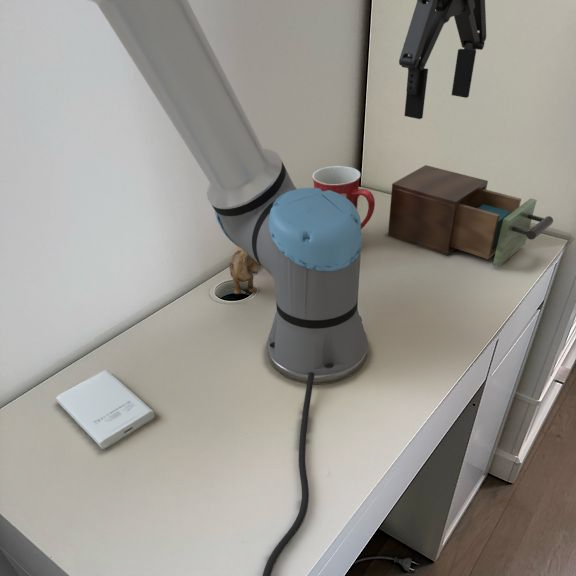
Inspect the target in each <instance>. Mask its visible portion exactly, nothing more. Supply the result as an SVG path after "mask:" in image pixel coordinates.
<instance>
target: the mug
mask: <svg viewBox="0 0 576 576" xmlns="http://www.w3.org/2000/svg"><path fill="white" fill-rule="evenodd" d="M361 174H362V173H361V172H360V170H358V169H356V168H354V167H350V166H344V165H333V166H332V165H331V166H326V167H322V168H320V169H317V170H316V171H314V172H313V173H312V175H311V178H312V181H313V188H320V189H321V191H327V190H330V191H333V192H336V193H338V194H340V195H342V196H344V197H345V198H347V199H348V200H349V201H350V202H351V203H352V204H353V205H354V206H355V207H356V209H357V210H358V202H359V197H360V196H363V197H364V198H366V202H367V205H368V209H367V212H366V213H367V214H366V216H365V217H364V219H363V220H362V221H361V230H363V228H364V227H365V226H366V225H367V224H368V223H369V221H370V220H371V219H372V216H373V214H374V211H375V207H376V206H375V205H376V202H375V201H376V200H375V197H374V195H373V193H372V192H371V190H369V189H366V188H360V187H359V186H360V179H361V176H362V175H361Z"/></svg>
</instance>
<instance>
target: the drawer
mask: <svg viewBox="0 0 576 576" xmlns="http://www.w3.org/2000/svg"><path fill="white" fill-rule="evenodd" d="M521 201H522V198H521V197H516V196H512V195H508V194H506V193H505V194H504V193H501V192H498V191H493V190H491V189H490V190H489V189H487V188H486V189H480V190H479V191H477V192H476V193H474V194H473V195H471V196H470V197H468V198H467V199H465V200H464V201H462V202H461V203H459V204H458V206H457V211H456V217H455V223H454V229H453V235H452V241H451V247H453V248H456V249H455V250H459V251H461V252H465V253H467V254H471V255H474V256H477V257H480V258H483V259H485V260H489V259H490V258H491V257H493V256H494V258H493V262H492V265H493V266H496V267H500V266H501V265H503V264H504V263H505V262H506V261H507V260H509V259H510V258H511V257H513V256H514V254H516V253H517V252H518V251H519V250H520V249H521V248H523V247H524V246H525V245H526V241H527V239H528V240H535V239H536V238H537V237H538V236H539V235H541V234H542V233H543V232H544V231H546V230H547V228H549V227H550V226H551V225H552V224H553V223H554V218H553V217H552V216H550V215H548V216H545V217H541V216H537V215H534V212H535V208H536V205H537V199H535V198H529V199H528V200H526V201H525V202H524V203H522V202H521ZM521 203H522V204H521ZM483 204H484V205H488V206H492V207H495V208H499V209H503V210H506V211H510V212H511V214H509V215H508V216H507V217H505V218H504V219H503V223H502V227H501V231H500V236H499V240H498V244H497V246H496V247H494V248H493V249H492V247H493V243H494V238H495V234H496V230H497V225H498V221H499V216H500V215H499V214H495V213H492V212H488V211H485V210H481V209H478V208H479V207H480V206H482V205H483ZM532 221H536V222H538V223H537V224H536V225H534V226H533V227H532V228H531V229H530V226H531V223H532Z"/></svg>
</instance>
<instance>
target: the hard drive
mask: <svg viewBox="0 0 576 576" xmlns="http://www.w3.org/2000/svg"><path fill="white" fill-rule="evenodd" d="M55 399H56V401H57V403H58V404H59V405H60V406H61V407H62V409H63V410H64V411H65V412H66V413H67V414H68V415H69V416H70V417H71V418H72V419H73V420H74V421H75V422H76V423H77V424H78V425H79V426H80V427H81V429H83V430H84V432H85V433H86V434H88V436H89V437H90V438H91V439H92V440H93V441H94V442H95V443H96V444H97V445H98V447H100V448H101V450H105V449H107V448H109V447H111V446H112V445H113V444H115V443H116V442H119V441H120V440H121V439H123V438H125V437H127V436H128V435H130V434H131V433H133V432H135V431H136V430H137V429H139V428H141V427H143V426H144V425H146V424H147V423H149V422H151V421H152V420H153V419H154V418H155V417H156V416H155V412H154V410H153V409H151V407H149V406H148V405H147V404H146V403H145V402H144V401H143V400H141V398H139V396H137V395H136V394H135V393H134V392H132V391H131V390H130V389H129V388H128V387H127V386H126V385H125V384H124V383H123V382H121V381H120V380H119V379H118V378H117V377H115V376H114V375H113V374H112V373H111V372H109V370H108V369H104V370H102V371H100V372H98V373H96V374H94V375H92V376H90V377H89V378H87V379H85V380H83V381H81V382H79V383H78V384H76V385H74V386H72V387H71V388H68V389H67V390H64V391H63V392H61V393H59V394H58V395H57V396H56V397H55Z"/></svg>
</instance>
